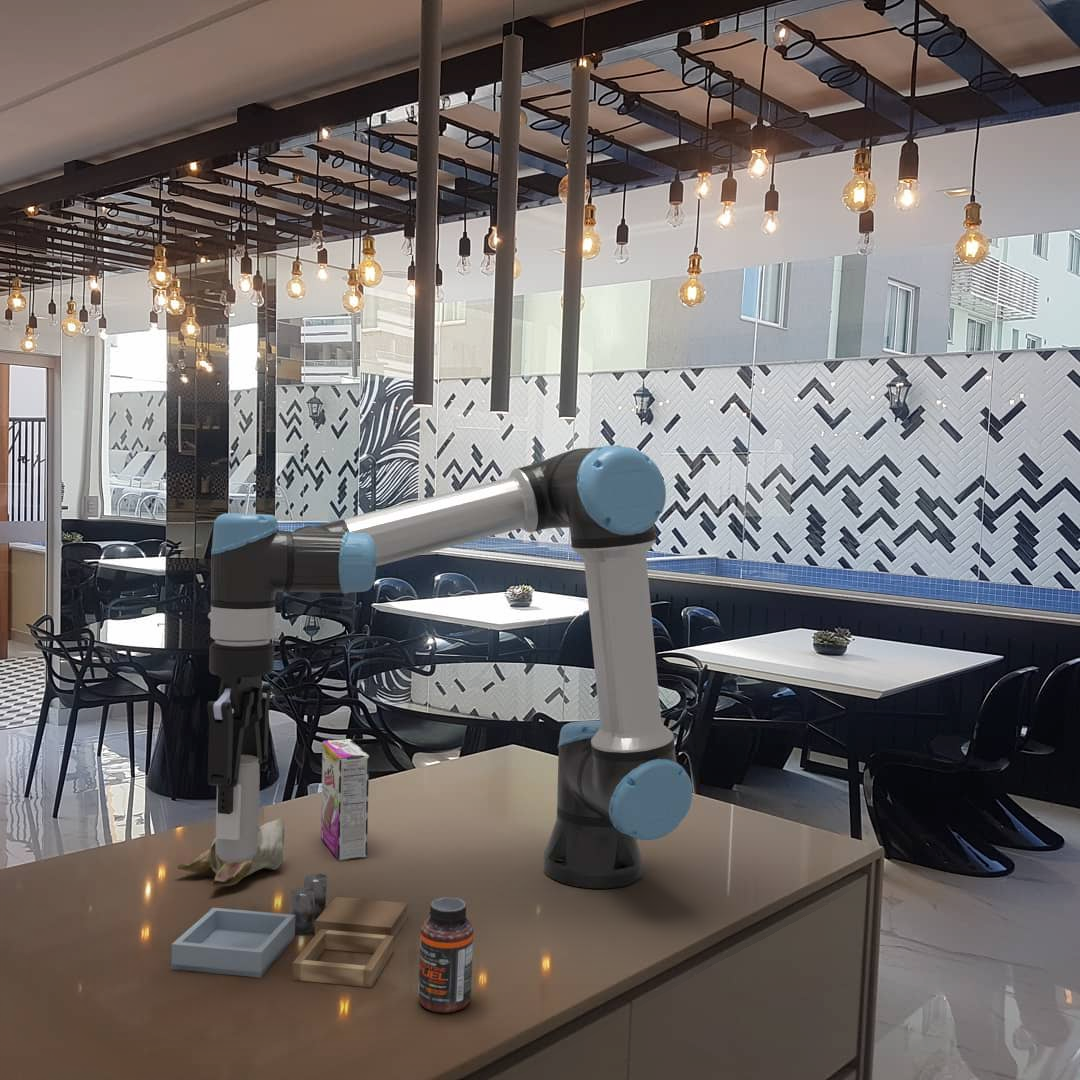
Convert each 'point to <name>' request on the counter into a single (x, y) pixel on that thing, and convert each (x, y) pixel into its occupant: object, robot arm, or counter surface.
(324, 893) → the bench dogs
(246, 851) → the beverage can
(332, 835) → the candy bar box
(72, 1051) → the counter surface
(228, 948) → the tray
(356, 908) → the board
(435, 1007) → the supplement bottle
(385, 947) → the collar
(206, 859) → the ceramic sculpture
